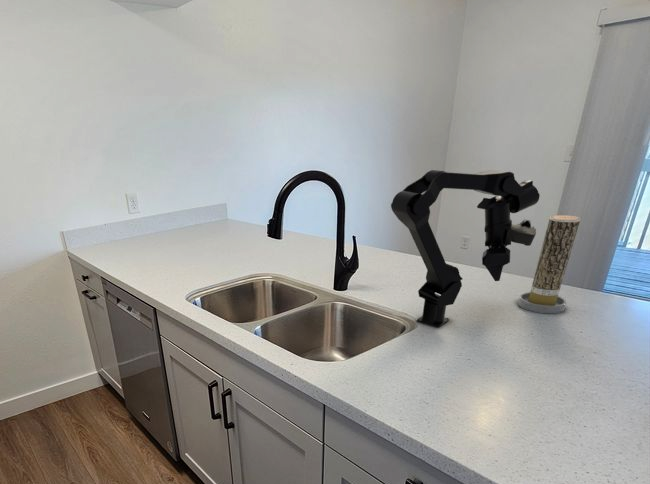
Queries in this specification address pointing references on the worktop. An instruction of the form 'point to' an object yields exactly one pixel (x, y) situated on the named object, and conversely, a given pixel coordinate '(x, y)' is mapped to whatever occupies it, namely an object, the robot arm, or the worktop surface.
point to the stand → (541, 308)
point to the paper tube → (553, 259)
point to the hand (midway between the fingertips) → (498, 273)
